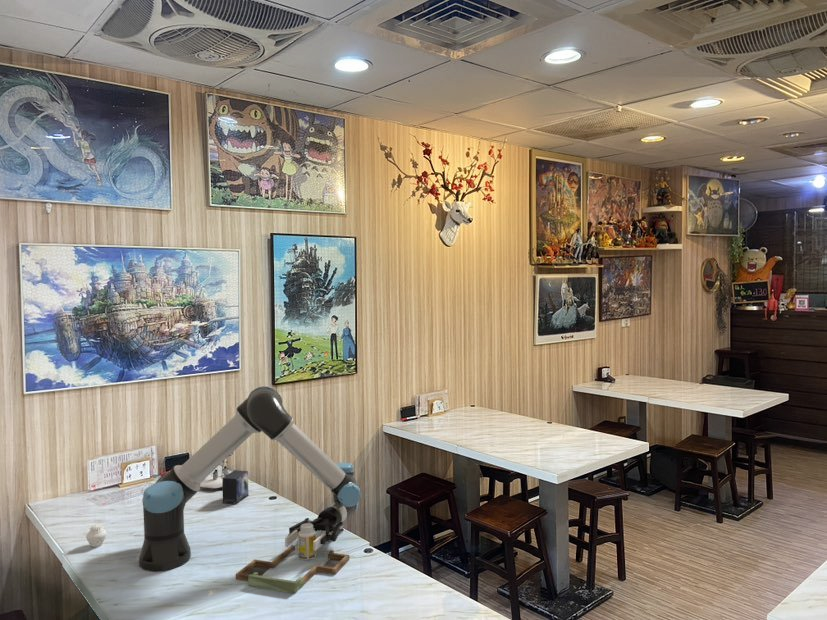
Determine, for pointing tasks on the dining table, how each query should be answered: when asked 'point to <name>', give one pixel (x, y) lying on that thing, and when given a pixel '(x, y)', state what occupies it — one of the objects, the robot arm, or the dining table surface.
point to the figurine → (215, 478)
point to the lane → (260, 567)
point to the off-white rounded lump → (96, 536)
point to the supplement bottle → (306, 542)
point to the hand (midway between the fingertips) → (300, 544)
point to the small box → (235, 487)
